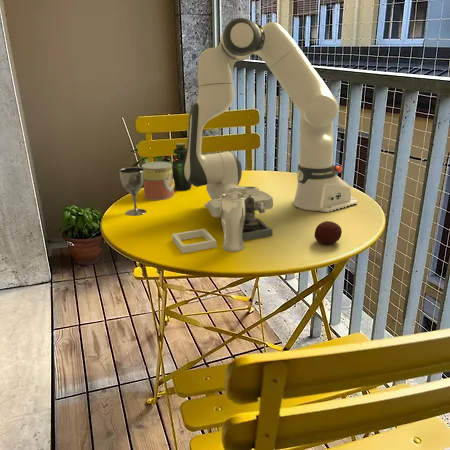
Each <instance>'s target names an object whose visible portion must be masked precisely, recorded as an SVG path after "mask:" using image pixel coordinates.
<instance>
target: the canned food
mask: <svg viewBox="0 0 450 450" xmlns="http://www.w3.org/2000/svg"><path fill="white" fill-rule="evenodd" d="M172 163H173V162H172ZM172 163H171V162H170V161H163V160H162V161H160V160H159V161H149V162H146V163H143V164H141V168H143V169H144V184H143V193H144V198H145V199H146V200H149V201H163V200H164V199H165V200H169V199H172V198H173V197H174V196H175V187H174V179H173V172H172Z"/></svg>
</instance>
